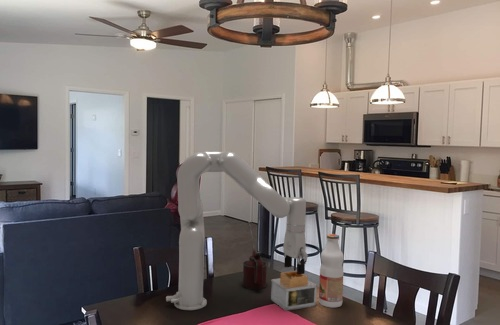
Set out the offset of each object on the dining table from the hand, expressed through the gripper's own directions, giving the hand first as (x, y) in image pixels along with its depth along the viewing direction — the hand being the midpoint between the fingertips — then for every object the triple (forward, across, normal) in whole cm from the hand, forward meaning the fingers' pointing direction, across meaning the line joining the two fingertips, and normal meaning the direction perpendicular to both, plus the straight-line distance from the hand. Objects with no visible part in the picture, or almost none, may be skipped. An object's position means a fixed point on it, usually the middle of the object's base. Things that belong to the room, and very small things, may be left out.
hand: (294, 270), depth 161 cm
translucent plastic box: (+13, 0, 0) cm, 13 cm away
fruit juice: (+14, +6, +14) cm, 20 cm away
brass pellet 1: (+8, 0, 0) cm, 8 cm away
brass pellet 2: (+13, 0, 0) cm, 13 cm away
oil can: (+14, -28, -5) cm, 31 cm away
